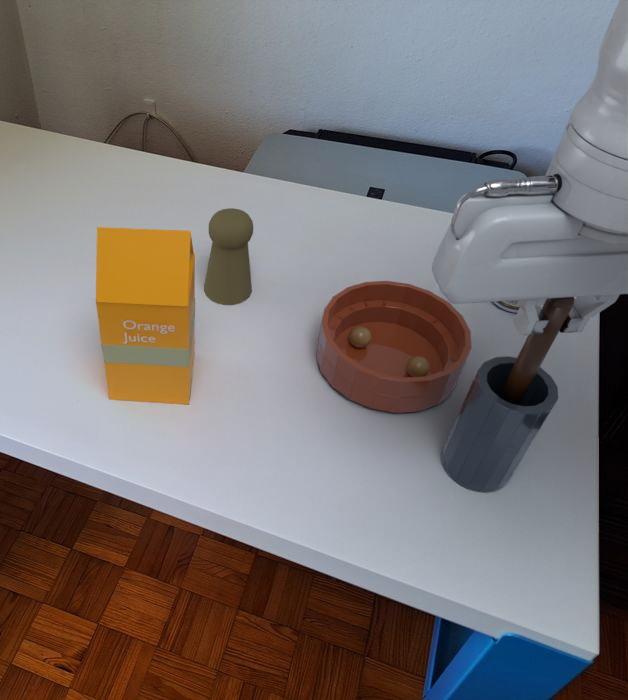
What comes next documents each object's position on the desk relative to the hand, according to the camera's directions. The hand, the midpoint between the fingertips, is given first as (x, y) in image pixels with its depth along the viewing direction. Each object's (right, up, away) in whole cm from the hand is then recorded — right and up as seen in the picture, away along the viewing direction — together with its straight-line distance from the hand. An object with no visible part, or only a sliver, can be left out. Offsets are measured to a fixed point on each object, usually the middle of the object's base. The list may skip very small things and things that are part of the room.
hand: (546, 328), depth 53 cm
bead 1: (-8, 0, +23) cm, 25 cm away
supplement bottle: (+12, +4, +30) cm, 32 cm away
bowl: (-5, -3, +23) cm, 24 cm away
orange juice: (-31, -5, +23) cm, 39 cm away
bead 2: (-3, -3, +20) cm, 21 cm away
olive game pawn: (-22, +6, +33) cm, 40 cm away
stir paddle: (+1, -12, +13) cm, 18 cm away
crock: (+1, -13, +13) cm, 19 cm away
